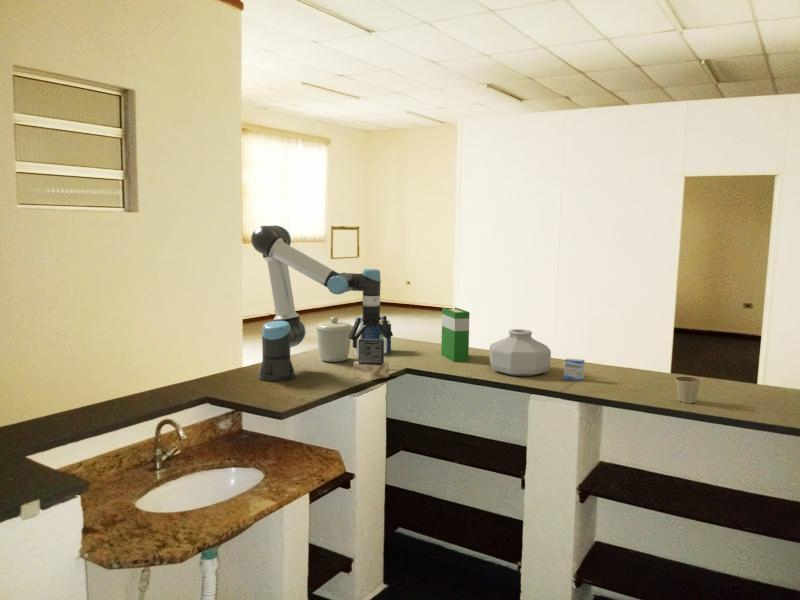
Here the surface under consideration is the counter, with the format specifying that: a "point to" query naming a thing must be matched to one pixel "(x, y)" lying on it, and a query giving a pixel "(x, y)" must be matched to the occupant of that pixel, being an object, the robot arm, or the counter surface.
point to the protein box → (376, 334)
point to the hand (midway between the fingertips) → (370, 354)
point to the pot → (520, 354)
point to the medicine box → (574, 369)
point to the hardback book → (455, 334)
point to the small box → (371, 351)
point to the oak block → (371, 370)
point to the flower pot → (687, 388)
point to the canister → (334, 340)
